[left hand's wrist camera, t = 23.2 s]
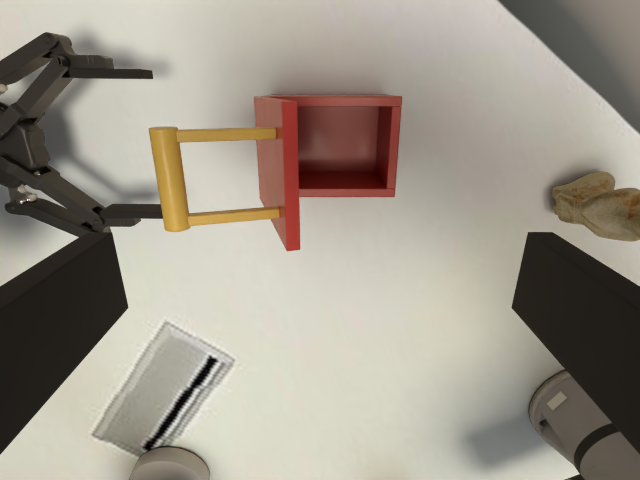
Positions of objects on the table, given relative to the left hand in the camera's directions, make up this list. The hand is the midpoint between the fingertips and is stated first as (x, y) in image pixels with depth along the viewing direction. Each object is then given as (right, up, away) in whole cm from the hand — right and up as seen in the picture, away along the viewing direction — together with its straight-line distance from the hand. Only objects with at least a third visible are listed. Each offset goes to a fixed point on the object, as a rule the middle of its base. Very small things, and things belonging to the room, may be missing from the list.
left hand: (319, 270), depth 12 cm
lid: (-3, +7, +18) cm, 19 cm away
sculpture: (+32, +7, +35) cm, 48 cm away
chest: (+1, +13, +33) cm, 35 cm away
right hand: (-16, +10, +26) cm, 33 cm away
